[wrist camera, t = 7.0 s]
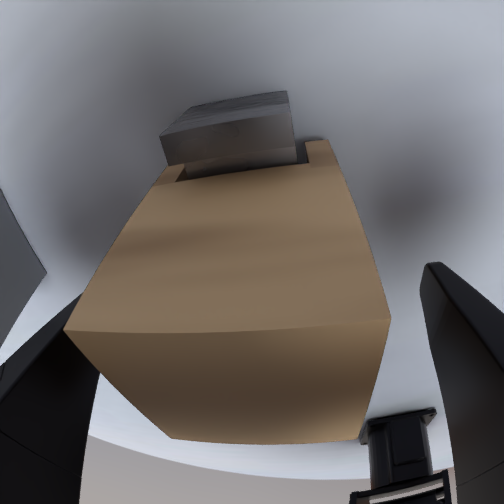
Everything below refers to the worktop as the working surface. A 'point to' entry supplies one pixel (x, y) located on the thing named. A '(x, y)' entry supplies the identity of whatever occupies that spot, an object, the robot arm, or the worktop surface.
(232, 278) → the block
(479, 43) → the worktop surface
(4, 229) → the grey button housing
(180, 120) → the rail
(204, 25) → the worktop surface
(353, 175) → the worktop surface
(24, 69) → the worktop surface
